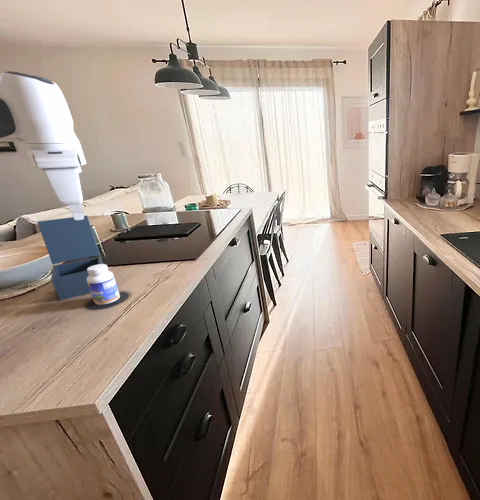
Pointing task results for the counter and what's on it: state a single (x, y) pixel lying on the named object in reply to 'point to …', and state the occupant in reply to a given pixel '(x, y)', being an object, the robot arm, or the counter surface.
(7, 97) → the robot arm
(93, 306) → the coaster
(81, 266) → the box
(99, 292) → the pill bottle
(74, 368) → the counter surface
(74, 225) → the box lid
